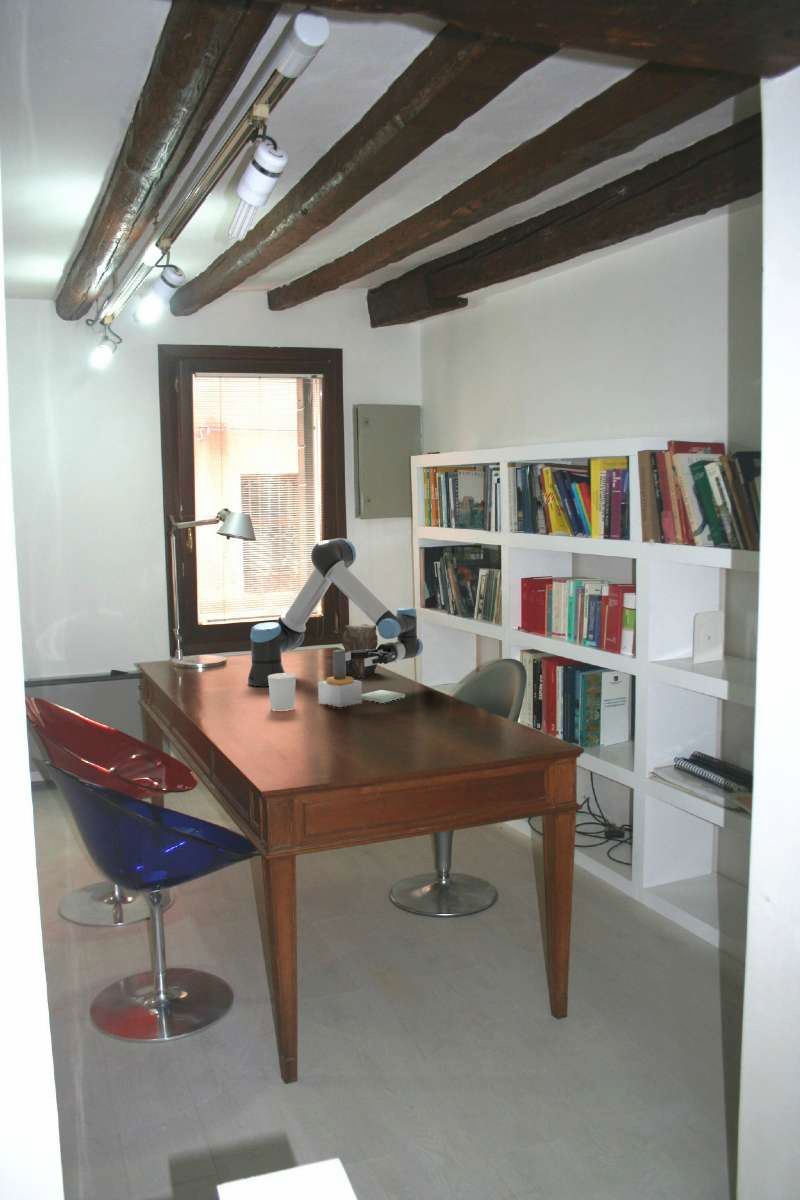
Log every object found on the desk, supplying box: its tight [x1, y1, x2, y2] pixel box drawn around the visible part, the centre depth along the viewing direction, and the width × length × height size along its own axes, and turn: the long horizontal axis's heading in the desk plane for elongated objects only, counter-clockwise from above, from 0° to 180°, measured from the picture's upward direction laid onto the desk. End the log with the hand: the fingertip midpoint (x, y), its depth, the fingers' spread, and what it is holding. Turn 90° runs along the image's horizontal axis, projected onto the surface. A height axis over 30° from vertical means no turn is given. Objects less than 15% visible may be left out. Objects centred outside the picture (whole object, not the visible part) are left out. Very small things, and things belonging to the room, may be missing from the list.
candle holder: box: [268, 672, 297, 710], centre depth 368 cm, size 10×10×12 cm
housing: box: [317, 679, 363, 707], centre depth 375 cm, size 11×11×8 cm
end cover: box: [325, 649, 354, 685], centre depth 375 cm, size 10×10×17 cm
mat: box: [362, 689, 406, 704], centre depth 383 cm, size 12×12×2 cm
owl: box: [341, 623, 379, 678], centre depth 429 cm, size 13×13×20 cm
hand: (351, 660), depth 378 cm, fingers open, 13 cm apart
